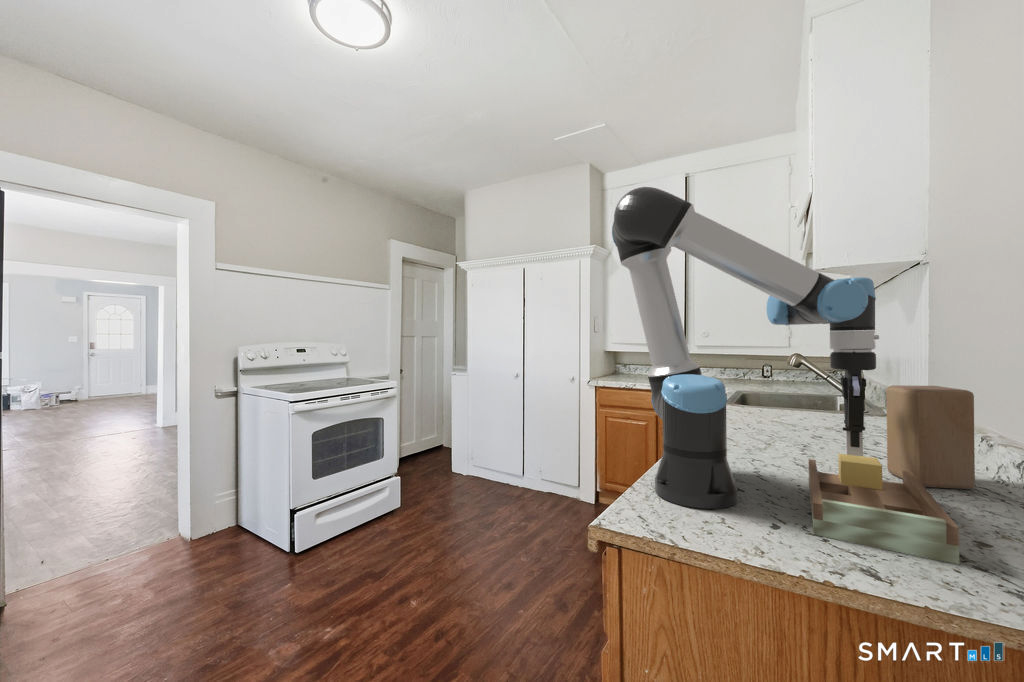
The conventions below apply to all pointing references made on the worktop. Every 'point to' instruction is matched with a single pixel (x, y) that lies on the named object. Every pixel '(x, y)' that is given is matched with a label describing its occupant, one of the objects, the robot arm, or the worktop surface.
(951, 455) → the block
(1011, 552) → the worktop surface
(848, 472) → the ochre block
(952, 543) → the tray
